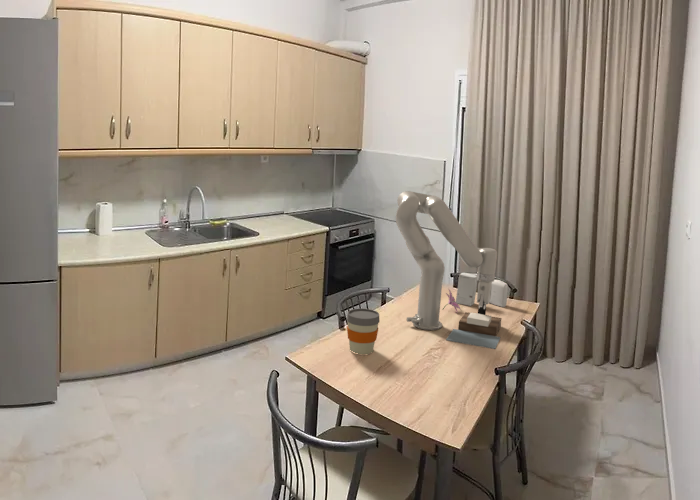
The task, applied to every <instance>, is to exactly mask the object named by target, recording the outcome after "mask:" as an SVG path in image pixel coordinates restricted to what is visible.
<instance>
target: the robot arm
mask: <svg viewBox="0 0 700 500" xmlns="http://www.w3.org/2000/svg"><path fill="white" fill-rule="evenodd" d="M396 202H397V205H398V207H397V210H396V212H395V213H396V214H395V222H396V226H397V228H398V231H399V232H400V234H401V235H402V237H403V239H404V240H405V243H406V244H405V245H406V248H407V249H408V251H409V252H410V254H411V256H412V257H413V259H414V261H415V262H416V264H417V266H418V267H419V268H420V270H421V275H420V280H419V287H418V301H417V313H415V315H414V316H408V317H406V322H408V323H409V322H410V323H412V325H413V326H414V327H415V328H418V329H420V330H425V331H436V330H440V329H442V327H443V323H442V322H441V321H440V314H441V313H440V312H441V311H440V310H441V300H442V288H443V280H444V276H445V263H444V260H443V259H442V258H441V257H440V256H439V254H437V252H436V251H435V249H434V248H433V245H432V244H431V241H430V239H429V237H428V236H427V235H426V233H425V232H424V230H423V229H422V226H421V224H420V223H419V220H418V219H417V214H418V213H419V214H425V215H428V216H429V218H430V219H431V220H432V222H433V223H434V225H435V226H436V228H437V229H438V230H439V232H440V233H441V235H442V236H443V237H444V238H445V240H446V241H447V242H449V244H450V245H451V246H452V247H453V248H454V249H455V251H456V252H457V253H458V254H459V257H460V260H461V261H462V262H463V263H464V264H465V266H467V267H469V268H470V269H477V270H476V271H477V272H476V275H477V280H478V281H477V282H478V283H477V292H476V293H477V296H476V303H478V308H477V314H483V315H487V313H486V312H487V305H489V304H490V303H489V302H490V300H491V290H492V282H494V280H495V276H496V269H497V268H496V267H497V257H498V251H497V250H496V249H494V248H491V247H477V245H476V244H475V243H474V242H473V241H472V239H471V237H470V236H469V235H468V234H467V232H466V230H465V228H464V227H463V226H462V224H461V223H460V222H459V220H458V219H457V218H456V216H455V215H454V214H453V212H452V210H451V209H450V208H449V206H448V205H447V203H446V202H445V201H444V200H443V199H441V198H440V197H439V196H436V195H431V194H427V193H426V194H425V193H420V192H415V191H411V190H405V191H403V192H401V193H399V195H398V197H397V201H396Z"/></svg>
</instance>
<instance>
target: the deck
mask: <svg viewBox="0 0 700 500" xmlns="http://www.w3.org/2000/svg"><path fill="white" fill-rule="evenodd" d="M470 313H471V312H466V311H465V312H464V313H463V315H462V316H461V318H460V319H459V321H458V329H457V330H463V331H469V332H474V333H480V334H486V335H491V336H498V335H497V334H498V333H499V331H500V330H501V326H502V317H496V316H492V317H491V322H490V324H489V326H488V327H486V326H481V325H475V324H469V323H467V317H468V316H469V314H470Z"/></svg>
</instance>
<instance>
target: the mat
mask: <svg viewBox="0 0 700 500" xmlns="http://www.w3.org/2000/svg"><path fill="white" fill-rule="evenodd" d="M500 340H501V337H500V336H498V335H496V336H491V335H486V334H480V333H474V332H469V331H463V330H458V329H456V328H453V329H452V331H451V332H450V333H449V334H448V336H447V338H446V339H445V341H448V342H453V343H460V344H464V345H469V346H470V345H471V346H475V347H480V348H481V347H482V348H487V349H492V350H496V349H497V347H498V344H499V342H500Z"/></svg>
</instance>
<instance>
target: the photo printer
mask: <svg viewBox="0 0 700 500" xmlns="http://www.w3.org/2000/svg"><path fill="white" fill-rule="evenodd" d="M508 291H509V285H508V284H507V283H506V282H504V281H503V280H500V279H494V282H492V290H491V300H490V302H489V304H491V305H495V306H498V307H501V308H505V307H507V300H508Z"/></svg>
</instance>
